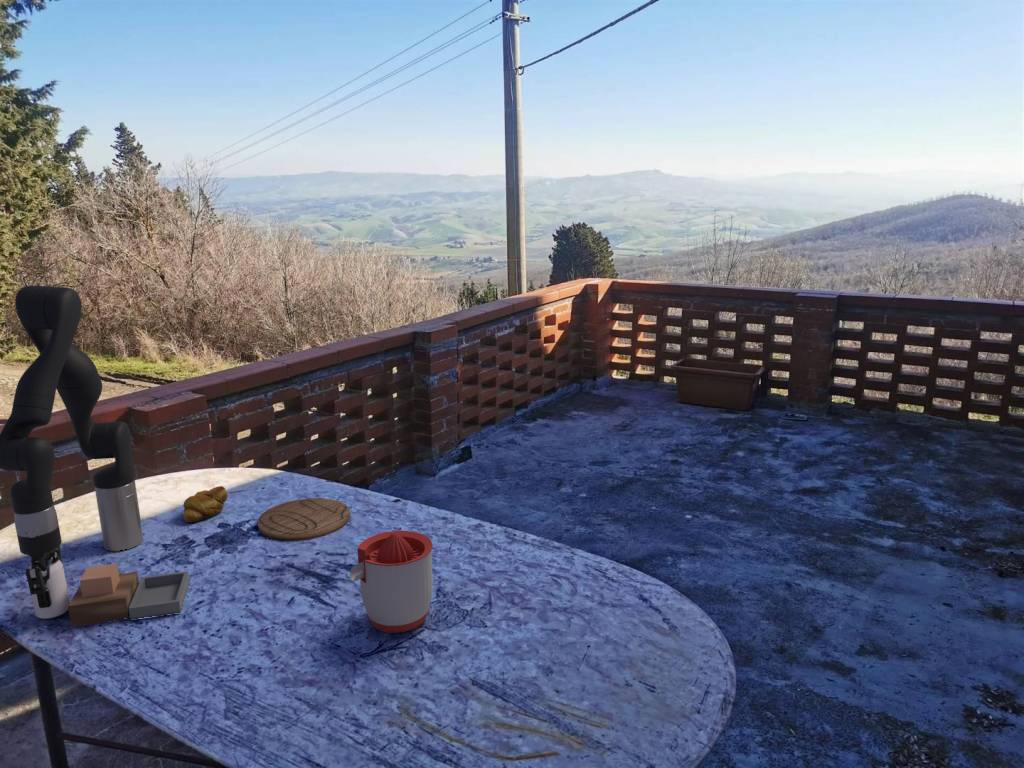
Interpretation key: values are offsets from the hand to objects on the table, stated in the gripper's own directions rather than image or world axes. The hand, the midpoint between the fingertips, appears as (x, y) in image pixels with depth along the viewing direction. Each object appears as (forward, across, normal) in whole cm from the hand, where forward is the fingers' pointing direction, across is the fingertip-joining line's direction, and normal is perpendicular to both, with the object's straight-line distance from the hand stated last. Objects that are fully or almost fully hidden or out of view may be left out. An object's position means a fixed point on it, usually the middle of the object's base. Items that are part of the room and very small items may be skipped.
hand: (50, 598), depth 158 cm
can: (+3, 0, 0) cm, 3 cm away
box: (+4, 0, +22) cm, 22 cm away
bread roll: (+5, -47, +25) cm, 53 cm away
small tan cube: (-1, 0, +10) cm, 10 cm away
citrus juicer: (+4, +23, +71) cm, 75 cm away
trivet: (+5, -35, +53) cm, 64 cm away
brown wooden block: (+4, 0, +11) cm, 11 cm away
